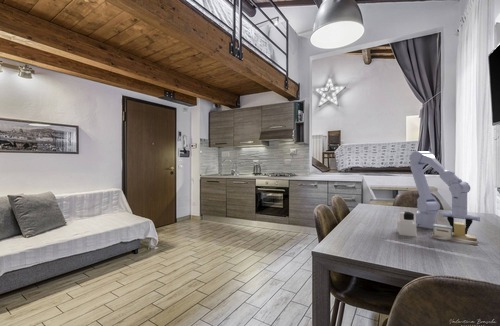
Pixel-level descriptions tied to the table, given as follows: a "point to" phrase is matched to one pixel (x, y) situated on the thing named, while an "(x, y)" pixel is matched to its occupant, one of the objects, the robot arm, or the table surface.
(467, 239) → the beige divided tray
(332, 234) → the table surface
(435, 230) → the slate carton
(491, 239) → the table surface
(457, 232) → the ochre carton
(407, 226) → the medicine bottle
